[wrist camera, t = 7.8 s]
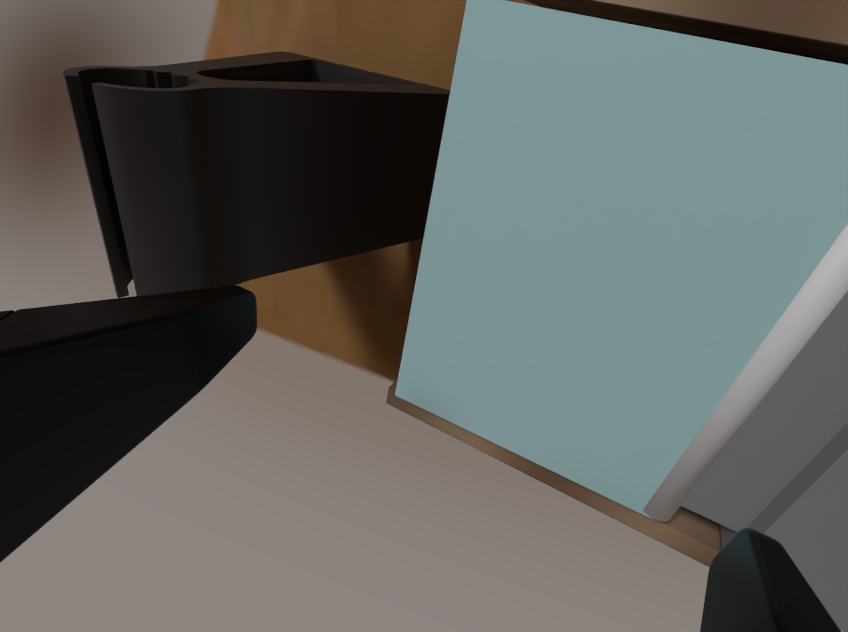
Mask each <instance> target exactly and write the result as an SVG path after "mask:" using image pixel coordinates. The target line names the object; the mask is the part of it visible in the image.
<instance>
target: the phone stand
mask: <svg viewBox="0 0 848 632" xmlns="http://www.w3.org/2000/svg"><path fill="white" fill-rule="evenodd" d="M63 76H64V80H65V84H66V88H67V93H68V97H69V101H70V105H71V109H72V113H73V117H74V122H75V126H76V129H77V134H78V138H79V142H80V146H81V150H82V154H83V159H84V163H85V167H86V171H87V175H88V179H89V183H90V187H91V192H92V196H93V200H94V204H95V208H96V212H97V216H98V221H99V225H100V228H101V233H102V237H103V241H104V245H105V249H106V254H107V258H108V262H109V266H110V270H111V274H112V278H113V282H114V286H115V291H116V294H117V296H118V298H120V297H124V296H128V295H129V293H128V289H127V286H128V284H129V283H130V281H131V280H132V279H133V280H134V284H135V289H136V294H137V296H144V295H153V294H162V293H171V292H180V291H189V290H198V289H207V288H216V287H224V286H235V285H237V284H240V283H242V282H245V281H249V280H252V279H256V278H260V277H264V276H268V275H272V274H276V273H281V272H285V271H289V270H293V269H297V268H301V267H305V266H310V265H314V264H318V263H322V262H326V261H330V260H334V259H339V258H343V257H347V256H351V255H355V254H359V253H364V252H368V251H372V250H376V249H380V248H384V247H388V246H393V245H397V244H401V243H405V242H409V241H413V240H418V239H422V238H424V233H425V227H426V222H427V216H428V211H429V205H430V200H431V194H432V189H433V183H434V178H435V172H436V167H437V161H438V156H439V150H440V145H441V140H442V134H443V129H444V123H445V118H446V112H447V107H448V101H449V96H450V90H446V89H442V88H438V87H434V86H429V85H425V84H421V83H417V82H412V81H408V80H404V79H400V78H396V77H391V76H387V75H383V74H379V73H374V72H368V71H366V70H362V69H358V68H353V67H349V66H345V65H341V64H336V63H332V62H328V61H324V60H319V59H315V58H311V57H307V56H303V55H298V54H294V53H289V52H271V53H263V54H254V55H246V56H238V57H229V58H221V59H212V60H204V61H196V62H187V63H179V64H171V65H161V66H140V67H139V66H137V67H127V66H84V67H75V68H69V69H66V70H64V71H63Z"/></svg>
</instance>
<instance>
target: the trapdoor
mask: <svg viewBox="0 0 848 632" xmlns="http://www.w3.org/2000/svg"><path fill="white" fill-rule="evenodd" d="M395 396H397V397H400V398H402V399H404V400H406V401H408V402H410V403H412V404H414V405H416V406H418V407H420V408H422V409H424V410H426V411H429V412H431V413H433V414H435V415H437V416H439V417H441V418H443V419H445V420H447V421H449V422H451V423H453V424H456V425H458V426H460V427H462V428H464V429H466V430H468V431H470V432H472V433H474V434H476V435H478V436H480V437H482V438H485V439H487V440H489V441H491V442H493V443H495V444H497V445H499V446H501V447H503V448H505V449H507V450H509V451H512V452H514V453H516V454H518V455H520V456H522V457H524V458H526V459H528V460H530V461H532V462H534V463H536V464H538V465H541V466H543V467H545V468H547V469H549V470H551V471H553V472H555V473H557V474H559V475H561V476H563V477H565V478H567V479H570V480H572V481H574V482H576V483H578V484H580V485H582V486H584V487H586V488H588V489H590V490H592V491H594V492H597V493H599V494H601V495H603V496H605V497H607V498H609V499H611V500H613V501H615V502H617V503H619V504H621V505H623V506H626V507H628V508H630V509H632V510H634V511H636V512H638V513H640V514H642V515H644V516H646V517H648V518H650V519H655V520H658V521H662V522H666V521H669V520H670V519H671V518H672V517H673V516H674V514H675V513H676V512H677V510H678V509H679V508H680V507H681V506H682V507H684V508H687V509H689V510H691V511H693V512H695V513H697V514H699V515H702V516H704V517H706V518H708V519H710V520H712V521H714V522H717V523H719V524H720V531H721V543H722V548H723V547H724V546H725V545H726V544H727V543H728V542H729V541H730V540H731V539H732V538H733V537H734V536H735V535H736V534H737V533H738V532H739V531H740V530H741V529H743V528H752V529H754V530H757V531H759V532H761V533H763V534H765V535H767V536H769V537H771V538H773V539H775V540H777V541H778V542H779V543H781V545H782V546H783V547H784V548H785V550H786V551H787V553H788V554H789V556H790V557H791V559H792V560H793V562H794V563H795V564H796V566H797V567H798V569H799V570H800V572H801V573H802V575H803V576H804V578H805V579H806V581H807V582H808V584H809V585H810V587H811V588H812V589H813V591H814V592H815V594H816V595H817V597H818V598H819V600H820V601H821V603H822V604H823V606H824V607H825V609H826V610H827V612H828V613H829V614H830V616H831V617H832V619H833V620H834V622H835V623H836V625H837V626H838V628H839V629H840V630H841V631H843V632H848V65H846V64H840V63H835V62H830V61H824V60H819V59H814V58H808V57H803V56H798V55H792V54H787V53H782V52H777V51H771V50H766V49H761V48H755V47H750V46H745V45H739V44H734V43H729V42H723V41H718V40H713V39H707V38H702V37H697V36H691V35H686V34H681V33H675V32H670V31H665V30H659V29H654V28H649V27H644V26H638V25H633V24H628V23H622V22H617V21H612V20H606V19H601V18H596V17H590V16H585V15H580V14H574V13H569V12H564V11H558V10H553V9H548V8H542V7H537V6H532V5H526V4H521V3H516V2H511V1H505V0H467V2H466V8H465V13H464V19H463V24H462V30H461V35H460V41H459V46H458V52H457V57H456V63H455V68H454V74H453V79H452V85H451V90H450V96H449V101H448V107H447V112H446V118H445V123H444V129H443V134H442V140H441V145H440V150H439V156H438V161H437V167H436V172H435V178H434V183H433V189H432V194H431V200H430V205H429V211H428V216H427V222H426V227H425V233H424V238H423V244H422V249H421V255H420V260H419V266H418V271H417V277H416V282H415V288H414V293H413V299H412V304H411V310H410V315H409V321H408V326H407V332H406V337H405V343H404V348H403V354H402V359H401V365H400V370H399V376H398V381H397V386H396V392H395Z"/></svg>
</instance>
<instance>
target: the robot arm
mask: <svg viewBox="0 0 848 632" xmlns="http://www.w3.org/2000/svg"><path fill="white" fill-rule="evenodd" d="M256 329H257V308H256V297H255V295H254V294H253V293H252V292H250V291H248V290H246V289H244V288H242V287H240V286H224V287H216V288H207V289H198V290H189V291H180V292H171V293H162V294H153V295H144V296H136V297H127V298H118V299H109V300H100V301H91V302H82V303H74V304H65V305H56V306H47V307H38V308H29V309H20V310H17V311H12V310H10V311H2V312H0V562H2V561H3V560H4V559H5V558H6V557H7V556H9V554H11V553H12V552H13V551H14V550H16V549H17V548H18V547H19V546H20V545H21V544H22V543H24V542H25V541H26V540H27V539H28V538H30V537H31V536H32V535H33V534H34V533H35V532H37V531H38V530H39V529H40V528H41V527H42V526H44V525H45V524H46V523H47V522H48V521H49V520H51V518H53V517H54V516H55V515H56V514H57V513H59V512H60V511H61V510H62V509H63V508H64V507H66V506H67V505H68V504H69V503H71V501H73V500H74V499H75V498H76V497H77V496H78V495H80V494H81V493H82V492H83V491H84V490H85V489H87V488H88V487H89V486H90V485H91V484H93V483H94V482H95V481H96V480H97V479H98V478H100V477H101V476H102V475H103V474H104V473H105V472H107V471H108V470H109V469H110V468H111V467H112V466H114V465H115V464H116V463H117V462H118V461H120V460H121V459H122V458H123V457H124V456H125V455H127V454H128V453H129V452H130V451H131V450H132V449H134V448H135V447H136V446H137V445H138V444H140V443H141V442H142V441H143V440H144V439H145V438H146V437H148V436H149V435H150V434H151V433H152V432H154V431H155V430H156V429H157V428H158V427H159V426H161V425H162V424H163V423H164V422H165V421H166V420H167V419H169V418H170V417H171V416H172V415H173V414H175V413H176V412H177V411H178V410H179V409H180V408H182V407H183V406H184V405H185V404H186V403H187V402H189V401H190V400H191V399H192V398H193V397H194V396H195V395H197V393H199V392H200V391H201V390H202V389H203V388H204V387H205V386H206V385H207V384H208V383H209V382H210V381H211V380H212V379H213V378H214V377H215V376H216V375H217V374H218V373H219V372H220V371H221V370H222V369H223V368H224V367H225V366H226V365H227V364H228V363H229V361H230V360H231V359H232V358H233V357H234V356H235V355H236V354H237V353H238V352H239V351H240V350H241V349H242V348H243V347H244V346H245V345H246V344H247V343H248V342H249V341H250V340H251V338H252V337H253V336H254V334H255V332H256ZM700 632H841V631H840V629H839V628H838V626H837V625H836V623H835V622H834V620H833V619H832V617H831V616H830V614H829V613H828V612H827V610H826V609H825V607H824V606H823V604H822V603H821V601H820V600H819V598H818V597H817V595H816V594H815V592H814V591H813V589H812V588H811V587H810V585H809V584H808V582H807V581H806V579H805V578H804V576H803V575H802V573H801V572H800V570H799V569H798V567H797V566H796V564H795V563H794V562H793V560H792V559H791V557H790V556H789V554H788V553H787V551H786V550H785V548H784V547H783V546H782V545H781V543H779V542H778V541H777V540H775V539H773V538H771V537H769V536H767V535H765V534H763V533H761V532H759V531H757V530H754V529H752V528H743V529H741V530H740V531H739V532H738V533H737V534H736V535H735V536H734V537H733V538H732V539H731V540H730V541H729V542H728V543H727V544H726V545H725V546H724V547H723V548H722V549H721V550H720V551H719V553H718V554H717V555H716V556H715V557H714V559H713V561H712V563H711V565H710V569H709V574H708V581H707V588H706V595H705V602H704V609H703V616H702V623H701V630H700Z"/></svg>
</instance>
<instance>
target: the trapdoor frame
mask: <svg viewBox="0 0 848 632" xmlns="http://www.w3.org/2000/svg"><path fill="white" fill-rule="evenodd" d="M525 1H528V2H530V3H533V4H536V5H539V6H544V7H549V8H554V9H560V10H565V11H570V12H576V13H581V14H586V15H592V16H597V17H603V18H608V19H613V20H619V21H624V22H629V23H635V24H640V25H645V26H651V27H656V28H662V29H667V30H672V31H678V32H683V33H688V34H694V35H699V36H705V37H710V38H715V39H721V40H726V41H731V42H737V43H742V44H747V45H753V46H758V47H764V48H769V49H774V50H780V51H785V52H790V53H796V54H801V55H807V56H812V57H817V58H823V59H828V60H833V61H839V62H844V63H848V0H525ZM397 381H398V378H397V380H396V381H395V382H394V383H393V384H392V385H391V386H390V387H389V391H388V396H387V404H389V405H391V406H393V407H395V408H397V409H399V410H401V411H403V412H405V413H407V414H409V415H411V416H413V417H415V418H417V419H419V420H421V421H423V422H425V423H427V424H429V425H431V426H433V427H435V428H437V429H439V430H440V431H442V432H444V433H446V434H448V435H450V436H452V437H454V438H456V439H458V440H460V441H462V442H465V443H466V444H468V445H470V446H472V447H474V448H476V449H478V450H480V451H482V452H484V453H486V454H488V455H490V456H492V457H494V458H496V459H498V460H500V461H502V462H504V463H505V464H508V465H509V466H512V467H514V468H515V469H518V470H519V471H521V472H523V473H525V474H528V475H529V476H531V477H533V478H535V479H537V480H539V481H541V482H543V483H545V484H547V485H549V486H551V487H553V488H555V489H557V490H559V491H561V492H563V493H565V494H567V495H569V496H570V497H572V498H574V499H576V500H578V501H580V502H582V503H584V504H586V505H588V506H590V507H592V508H594V509H596V510H598V511H600V512H602V513H604V514H606V515H608V516H610V517H612V518H614V519H616V520H618V521H620V522H622V523H624V524H626V525H628V526H630V527H632V528H633V529H635V530H637V531H639V532H641V533H643V534H645V535H647V536H649V537H651V538H653V539H655V540H657V541H659V542H661V543H663V544H665V545H667V546H669V547H671V548H673V549H675V550H677V551H679V552H681V553H683V554H685V555H687V556H689V557H691V558H693V559H695V560H697V561H699V562H701V563H703V564H704V565H706V566H708V567H710V565H711V563H712V561H713V559H714V557H715V556H716V555H717V554H718V553H719V551H720V550H721V549H722V543H721V531H720V524H719V523H717V522H714V521H712V520H710V519H708V518H706V517H704V516H702V515H699V514H697V513H695V512H693V511H691V510H689V509H687V508H684V507H682V506H681V507H680V508H679V509H678V510H677V512H676V513H675V514H674V516H673V517H672V518H671V519H670V520H669V521H666V522H662V521H658V520H655V519H650V518H648V517H646V516H644V515H642V514H640V513H638V512H636V511H634V510H632V509H630V508H628V507H626V506H623V505H621V504H619V503H617V502H615V501H613V500H611V499H609V498H607V497H605V496H603V495H601V494H599V493H597V492H594V491H592V490H590V489H588V488H586V487H584V486H582V485H580V484H578V483H576V482H574V481H572V480H570V479H567V478H565V477H563V476H561V475H559V474H557V473H555V472H553V471H551V470H549V469H547V468H545V467H543V466H541V465H538V464H536V463H534V462H532V461H530V460H528V459H526V458H524V457H522V456H520V455H518V454H516V453H514V452H512V451H509V450H507V449H505V448H503V447H501V446H499V445H497V444H495V443H493V442H491V441H489V440H487V439H485V438H482V437H480V436H478V435H476V434H474V433H472V432H470V431H468V430H466V429H464V428H462V427H460V426H458V425H456V424H453V423H451V422H449V421H447V420H445V419H443V418H441V417H439V416H437V415H435V414H433V413H431V412H429V411H426V410H424V409H422V408H420V407H418V406H416V405H414V404H412V403H410V402H408V401H406V400H404V399H402V398H400V397H397V396H395V392H396V386H397Z"/></svg>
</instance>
